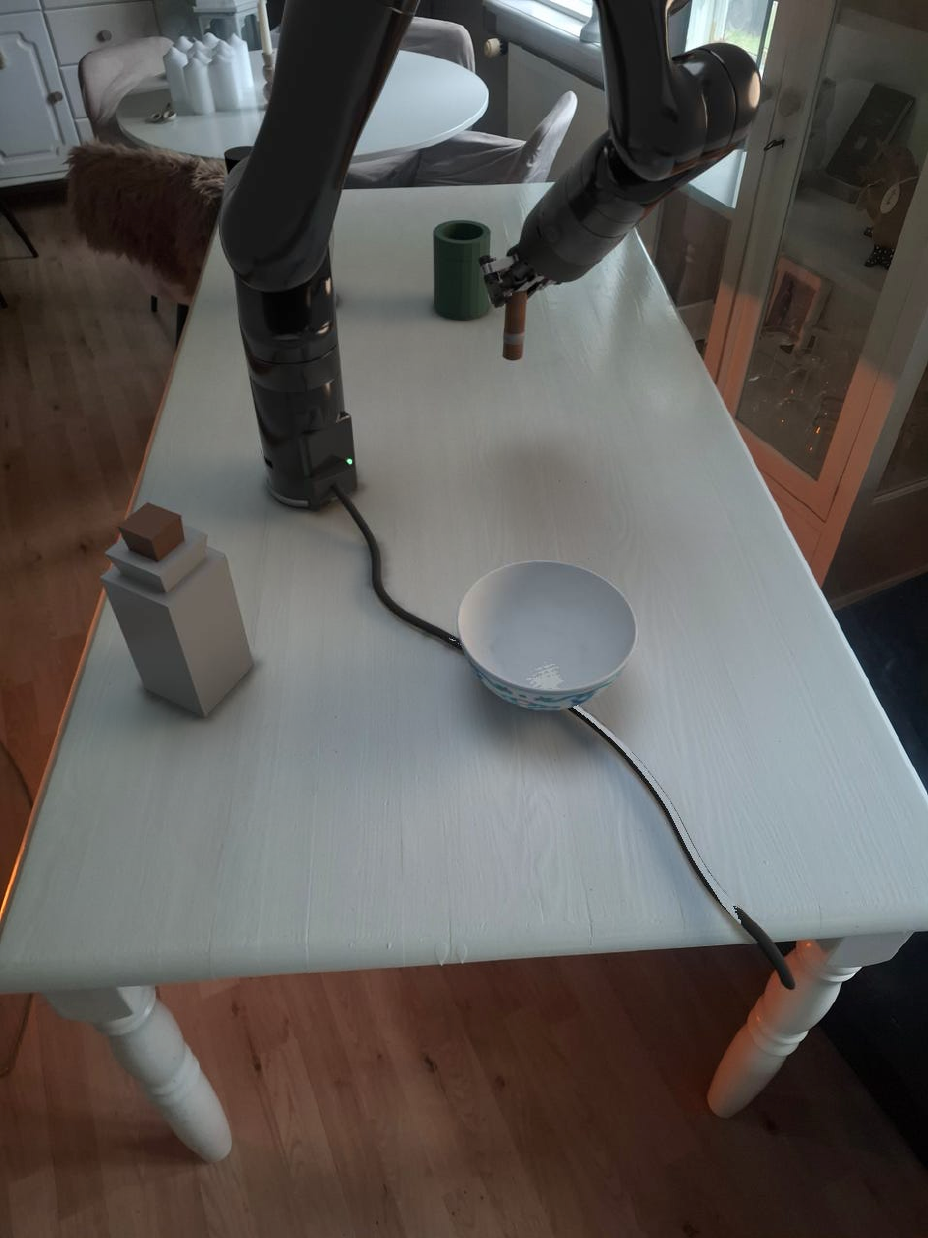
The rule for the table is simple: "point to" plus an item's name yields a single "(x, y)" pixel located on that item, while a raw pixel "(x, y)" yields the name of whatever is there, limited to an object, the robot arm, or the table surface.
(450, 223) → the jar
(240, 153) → the supplement container
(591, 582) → the chinaware
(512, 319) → the brown banded cylinder
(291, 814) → the table surface
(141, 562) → the perfume bottle
